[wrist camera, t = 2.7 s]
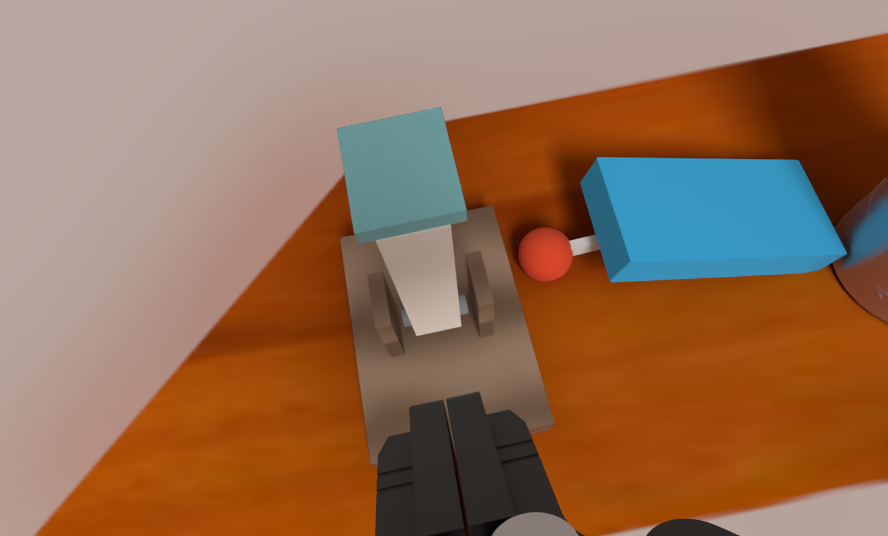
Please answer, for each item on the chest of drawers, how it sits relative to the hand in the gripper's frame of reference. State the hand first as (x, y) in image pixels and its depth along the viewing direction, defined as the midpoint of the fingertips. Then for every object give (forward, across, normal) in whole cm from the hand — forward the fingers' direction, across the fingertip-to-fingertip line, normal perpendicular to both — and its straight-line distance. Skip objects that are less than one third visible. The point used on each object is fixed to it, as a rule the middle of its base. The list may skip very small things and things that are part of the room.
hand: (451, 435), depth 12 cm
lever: (+24, -15, +6) cm, 29 cm away
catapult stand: (+21, 0, +8) cm, 23 cm away
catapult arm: (+18, 0, +5) cm, 19 cm away
